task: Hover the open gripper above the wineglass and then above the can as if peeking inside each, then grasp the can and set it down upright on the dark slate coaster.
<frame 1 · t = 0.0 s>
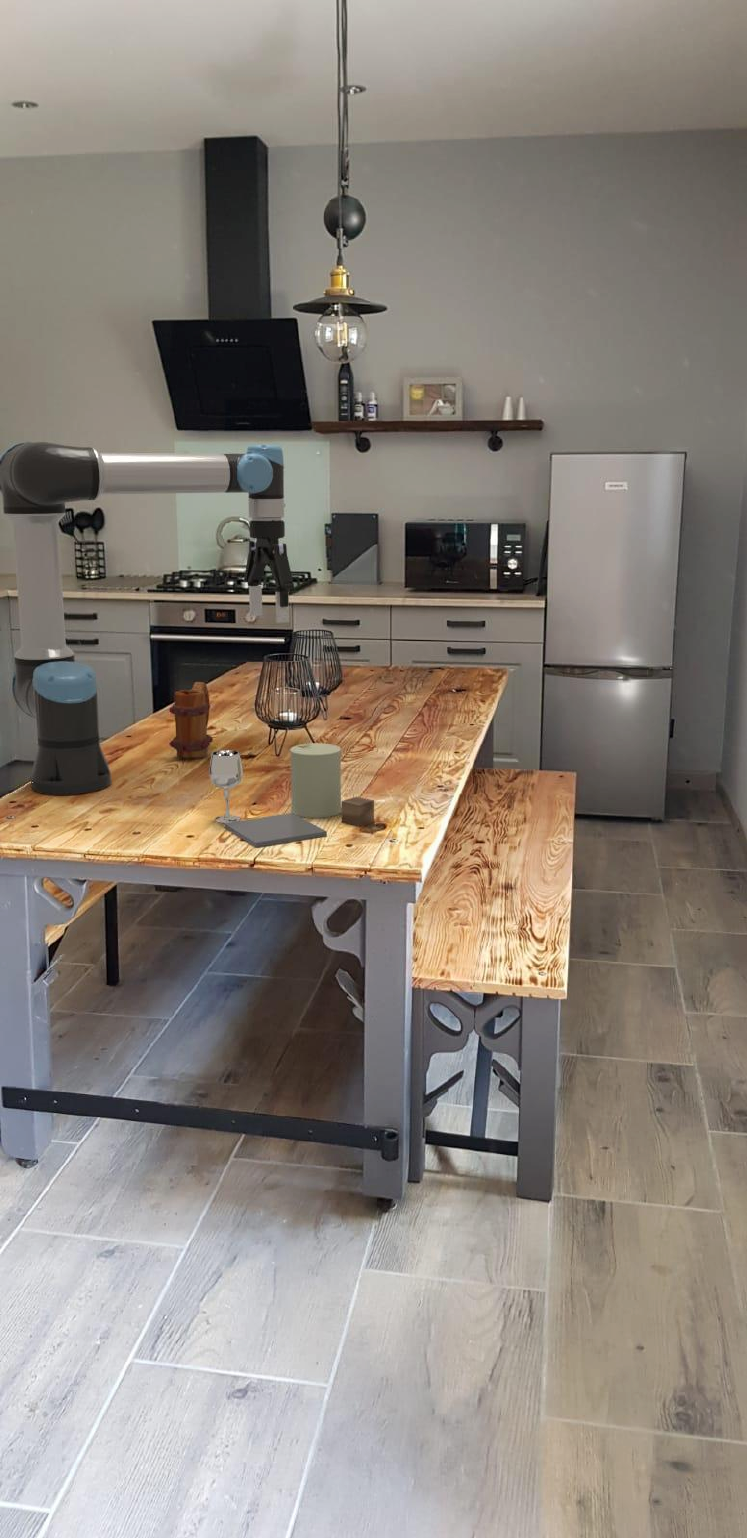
hand: (269, 619, 266), 28 cm above the table, fingers open, 13 cm apart
walnut block: (357, 822, 213), on the table
coaster: (274, 831, 208), on the table
mug: (196, 755, 264), on the table
can: (316, 812, 220), on the table
wineglass: (227, 820, 215), on the table
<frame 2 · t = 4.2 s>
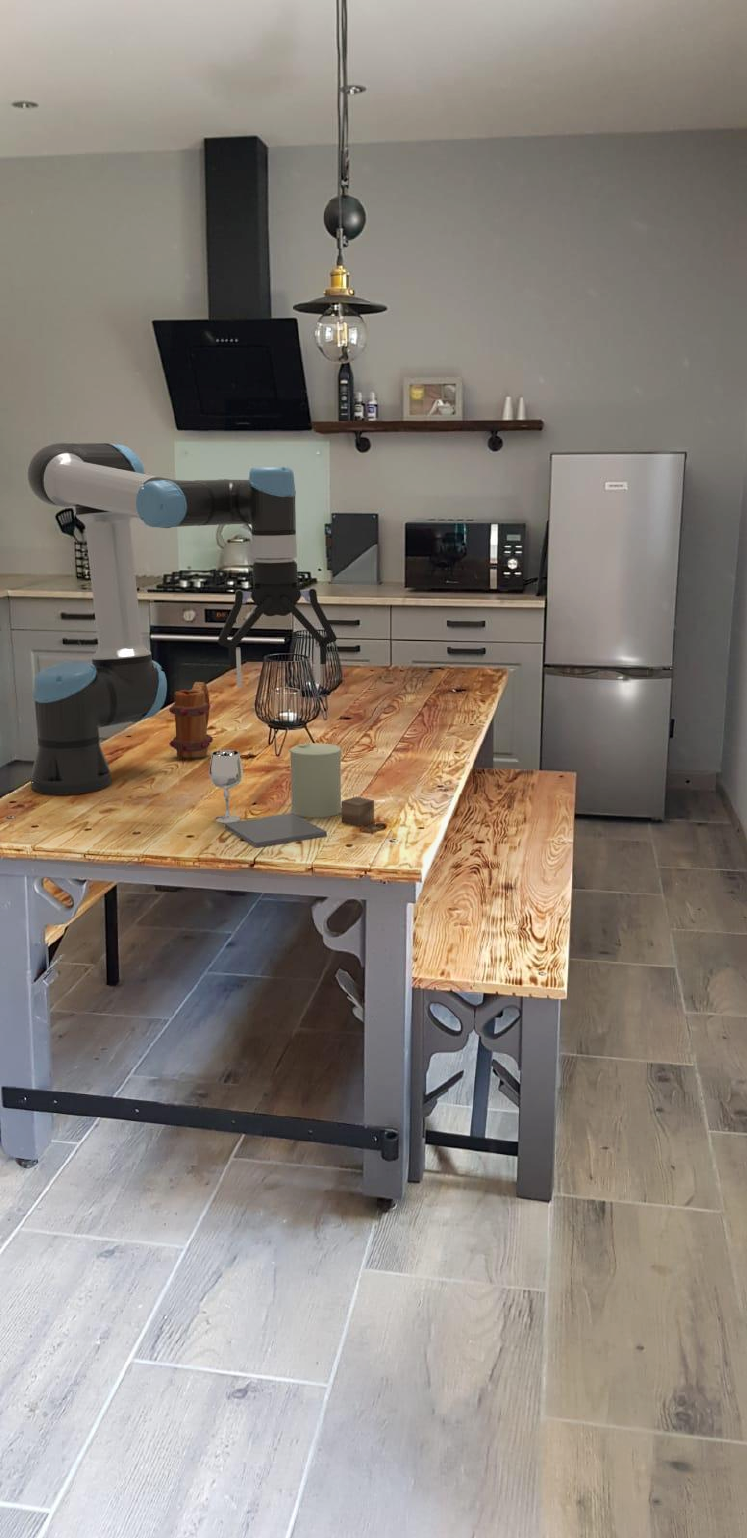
hand: (278, 684, 212), 24 cm above the table, fingers open, 13 cm apart
nothing on the table moved.
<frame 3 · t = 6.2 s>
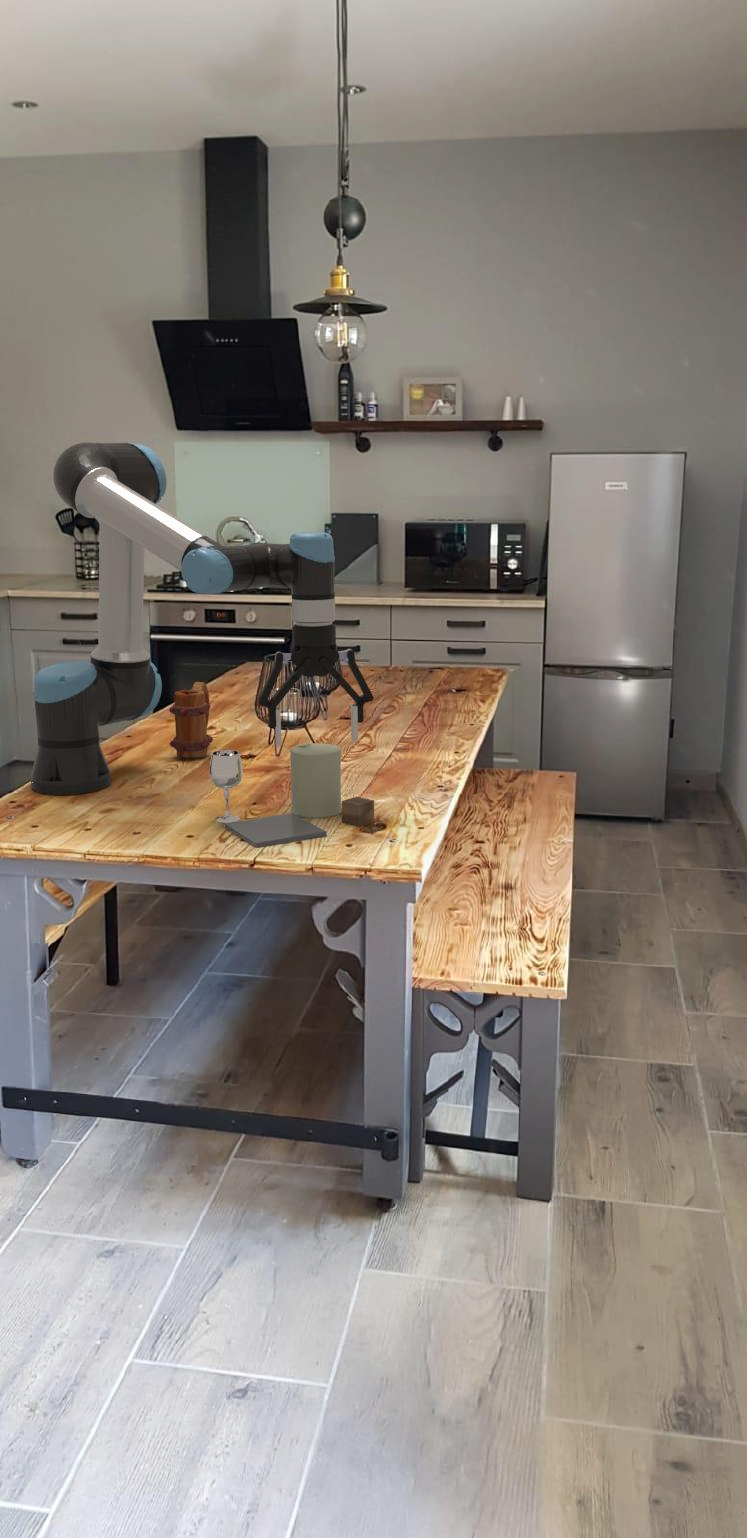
hand: (316, 743, 217), 13 cm above the table, fingers open, 13 cm apart
nothing on the table moved.
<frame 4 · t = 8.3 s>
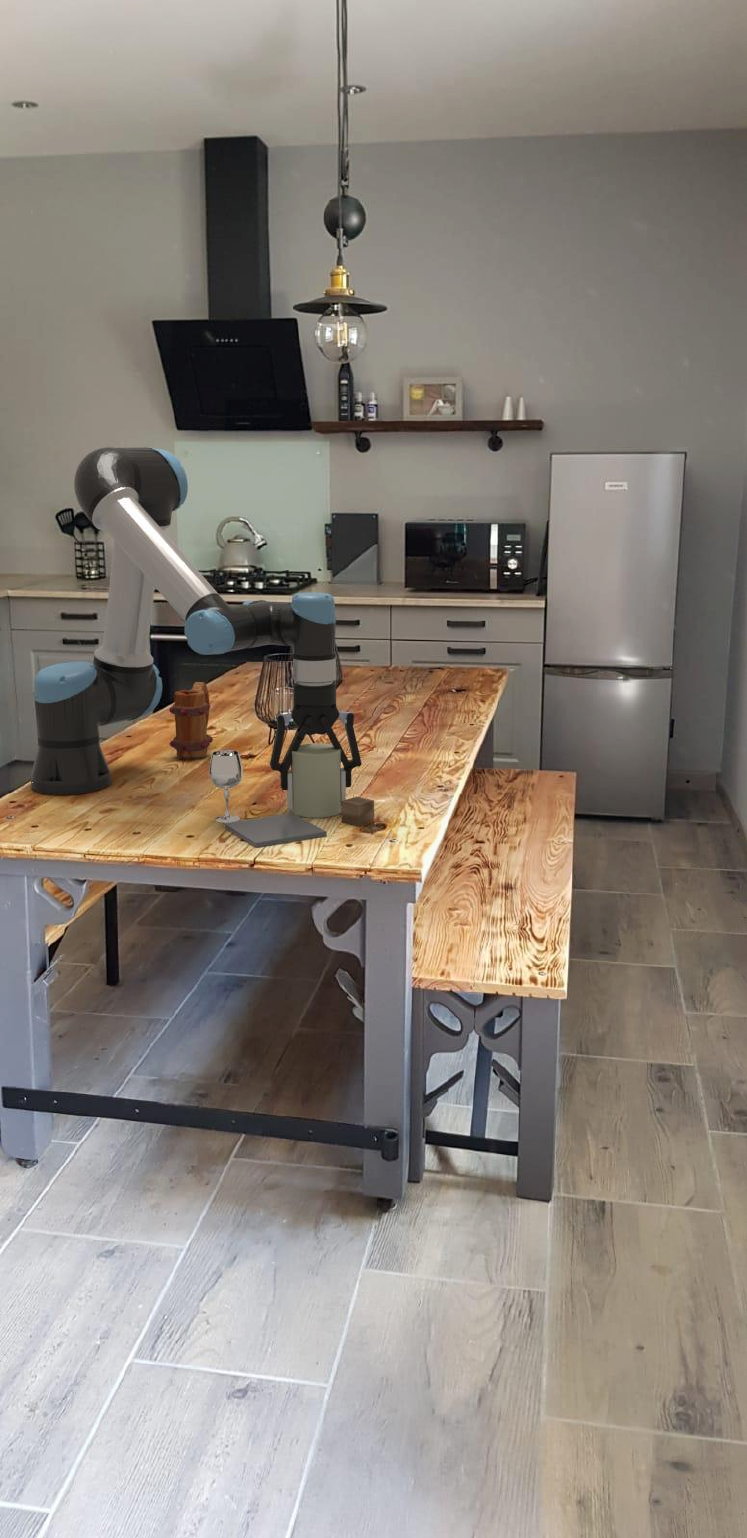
hand: (316, 805, 220), 1 cm above the table, fingers closed on can, 9 cm apart
can: (316, 812, 220), on the table, touching gripper
everything else where it was.
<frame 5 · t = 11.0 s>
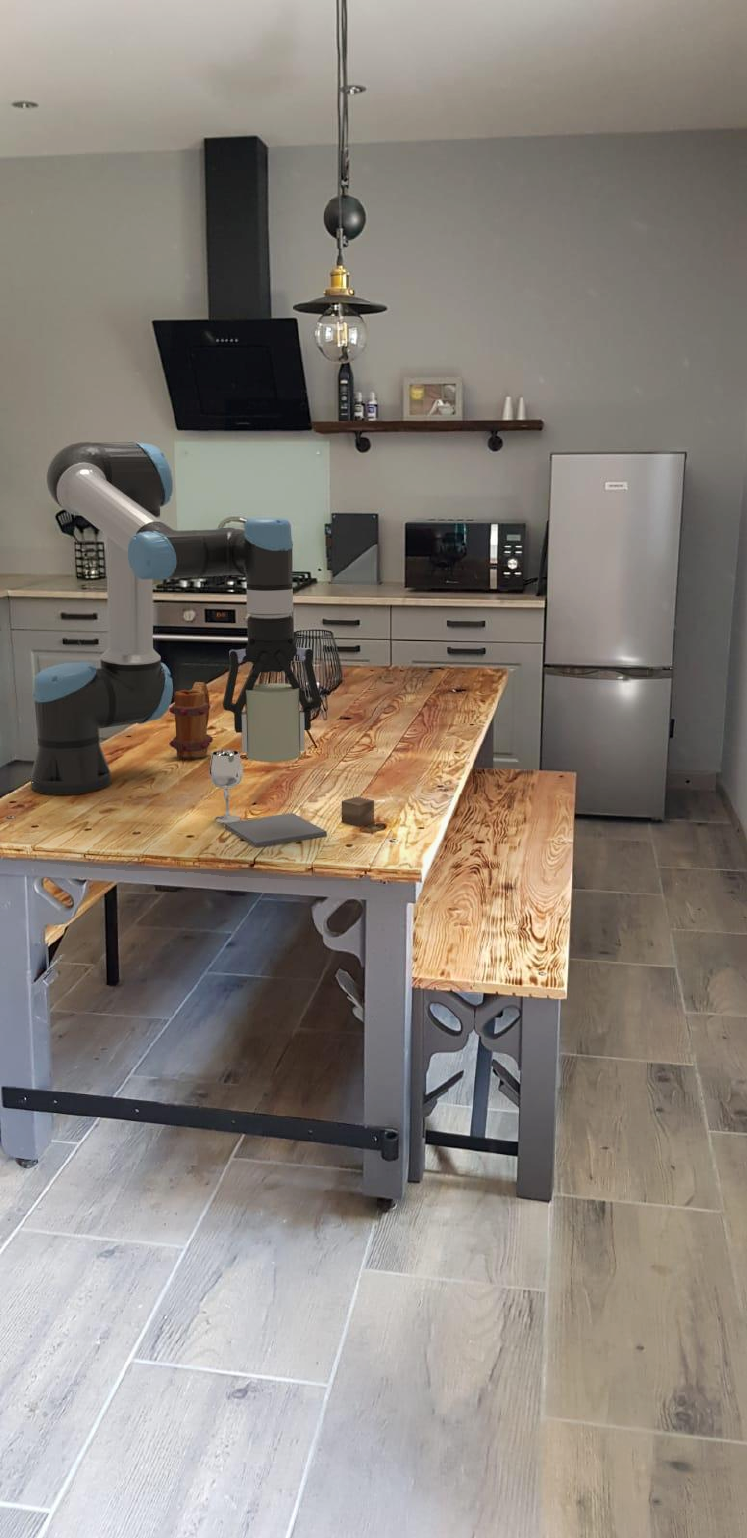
hand: (273, 750, 204), 14 cm above the table, fingers closed on can, 9 cm apart
can: (273, 757, 205), point 13 cm above the table, touching gripper
everything else where it was.
when the fingers open (3 cm above the table, at t = 13.8 s): can drops 1 cm, resting on coaster.
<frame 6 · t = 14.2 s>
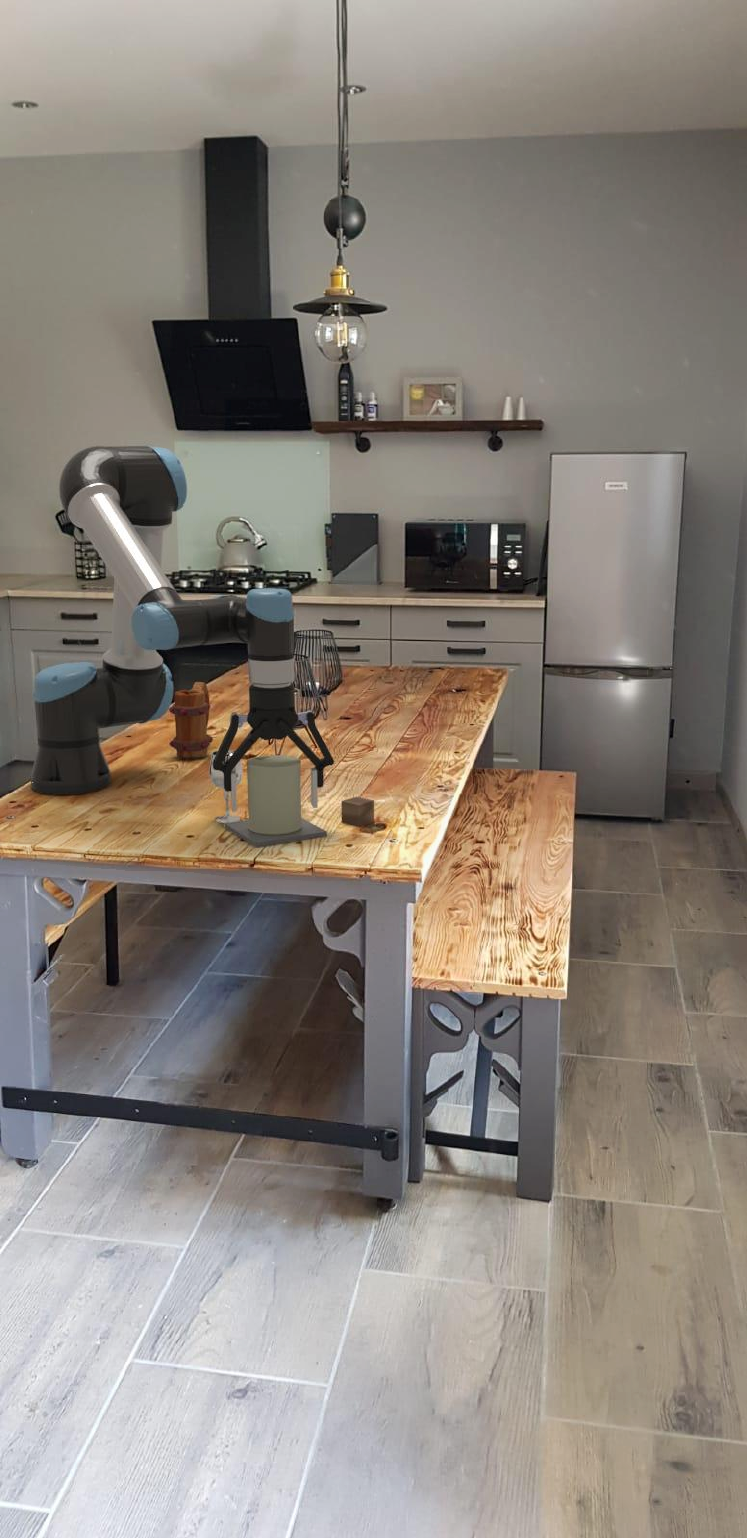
hand: (274, 807, 207), 4 cm above the table, fingers open, 13 cm apart
can: (275, 828, 208), point 1 cm above the table, touching coaster
everything else where it was.
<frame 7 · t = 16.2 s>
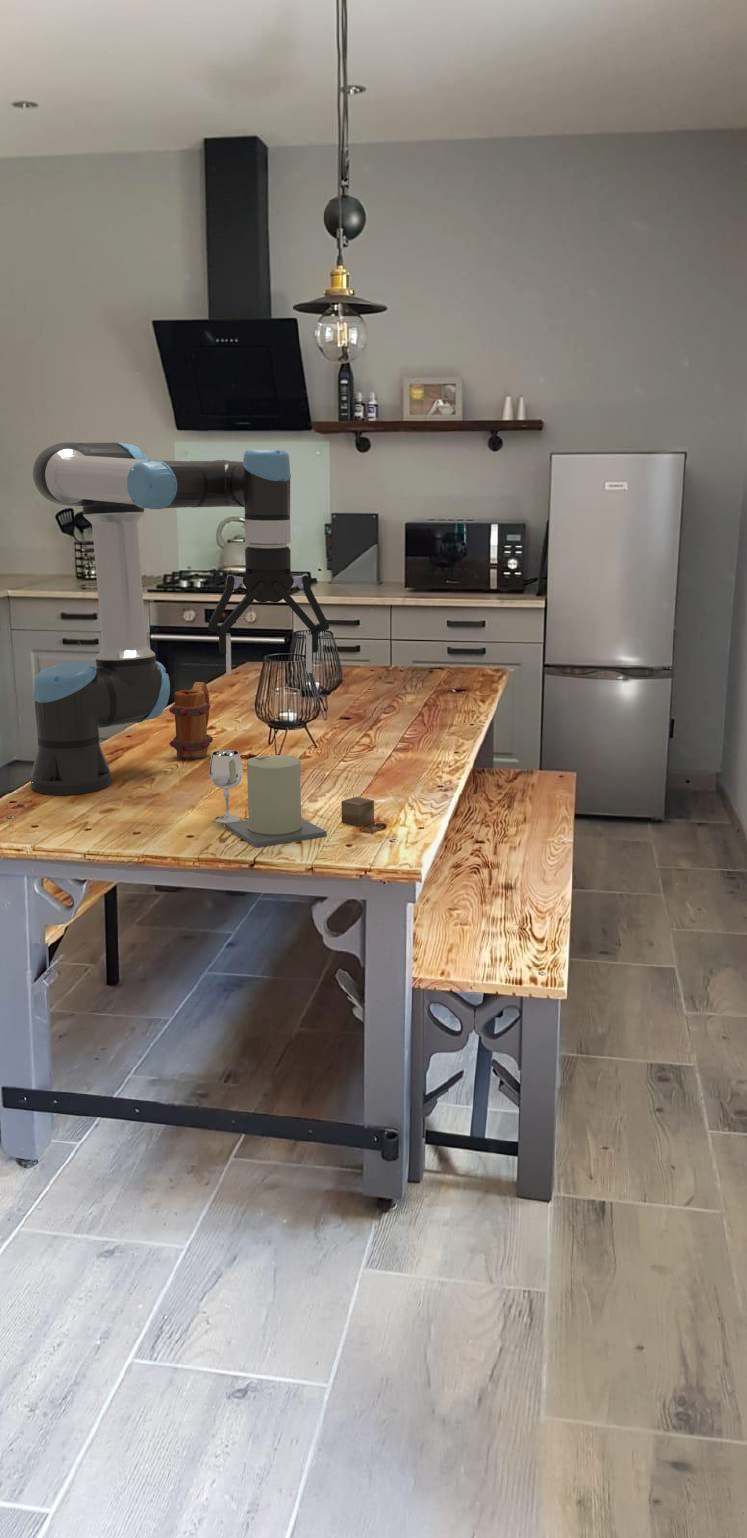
hand: (269, 672, 208), 26 cm above the table, fingers open, 13 cm apart
nothing on the table moved.
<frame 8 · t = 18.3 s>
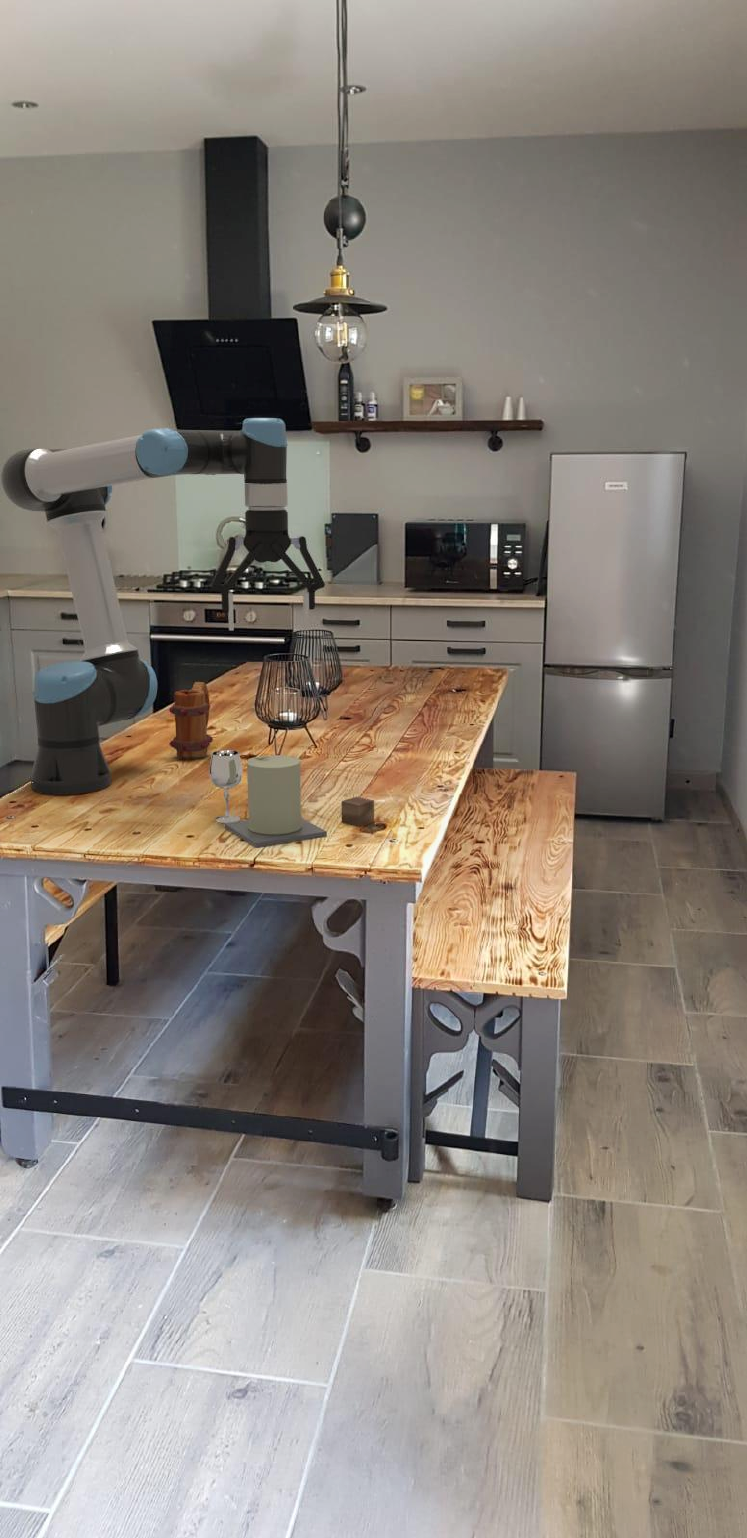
hand: (269, 628, 221), 32 cm above the table, fingers open, 13 cm apart
nothing on the table moved.
at the end: can inside the target area on the coaster (0.0 cm from its centre), point 0.6 cm above the coaster's base; can tilted 0°; the gripper is holding nothing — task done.
